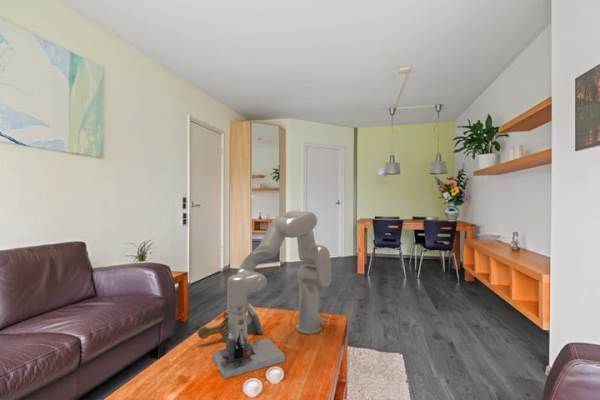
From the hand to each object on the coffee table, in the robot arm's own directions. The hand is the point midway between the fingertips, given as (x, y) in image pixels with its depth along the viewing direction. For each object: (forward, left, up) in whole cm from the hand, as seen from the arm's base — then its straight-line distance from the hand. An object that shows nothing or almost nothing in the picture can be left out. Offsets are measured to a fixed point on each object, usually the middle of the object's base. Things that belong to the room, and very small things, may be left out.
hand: (236, 354), depth 114 cm
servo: (0, 0, -1) cm, 1 cm away
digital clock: (-17, -26, -4) cm, 31 cm away
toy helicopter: (-1, -20, -4) cm, 21 cm away
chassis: (-5, 0, -3) cm, 6 cm away
